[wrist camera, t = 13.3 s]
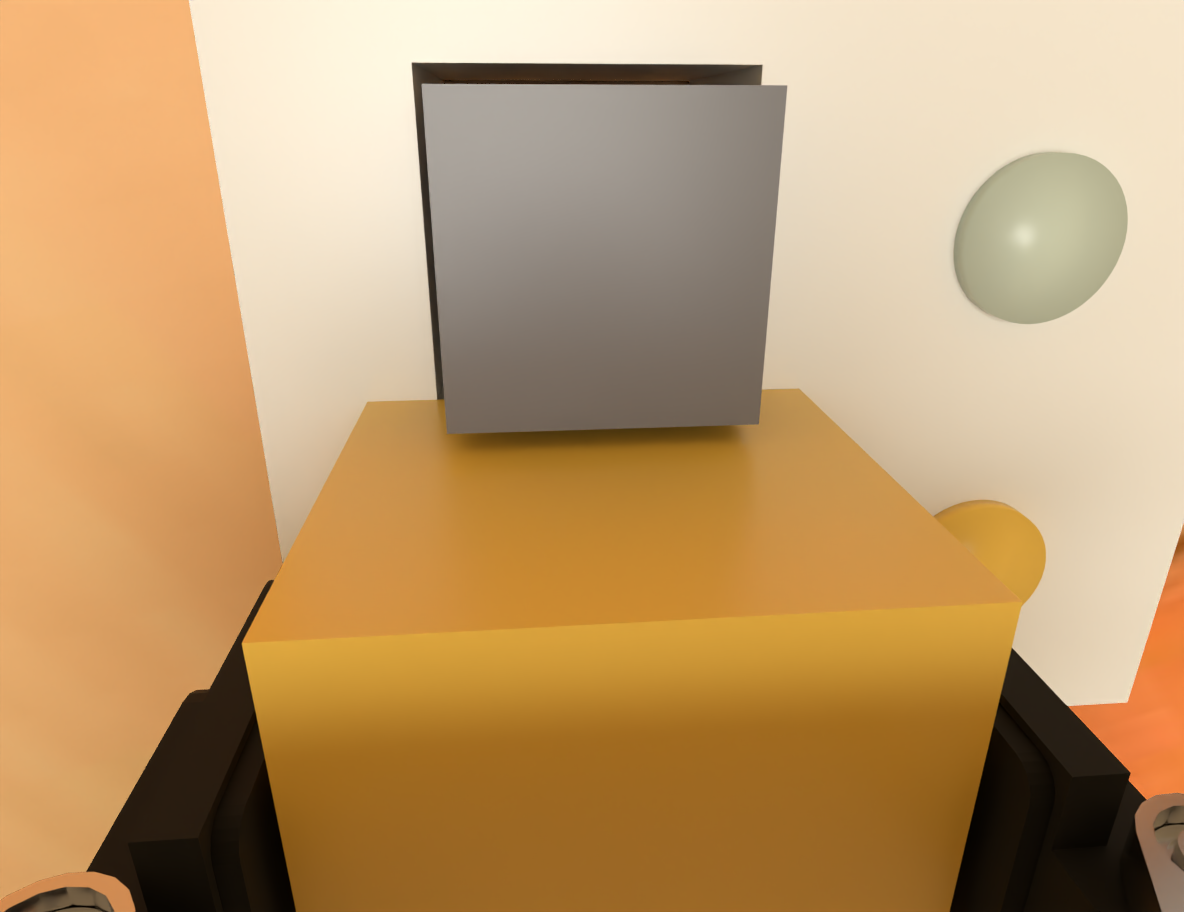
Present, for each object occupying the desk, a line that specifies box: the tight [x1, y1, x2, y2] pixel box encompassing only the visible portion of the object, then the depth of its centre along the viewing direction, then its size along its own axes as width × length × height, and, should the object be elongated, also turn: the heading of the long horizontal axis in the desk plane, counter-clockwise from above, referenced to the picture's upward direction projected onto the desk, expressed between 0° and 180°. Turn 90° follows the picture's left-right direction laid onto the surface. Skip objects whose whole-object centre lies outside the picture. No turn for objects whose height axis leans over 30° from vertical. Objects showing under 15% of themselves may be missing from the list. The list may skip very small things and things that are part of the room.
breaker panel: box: [189, 0, 1184, 706], centre depth 14 cm, size 11×14×5 cm
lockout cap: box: [242, 389, 1022, 912], centre depth 10 cm, size 6×6×6 cm
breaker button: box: [422, 84, 787, 434], centre depth 10 cm, size 4×4×4 cm
